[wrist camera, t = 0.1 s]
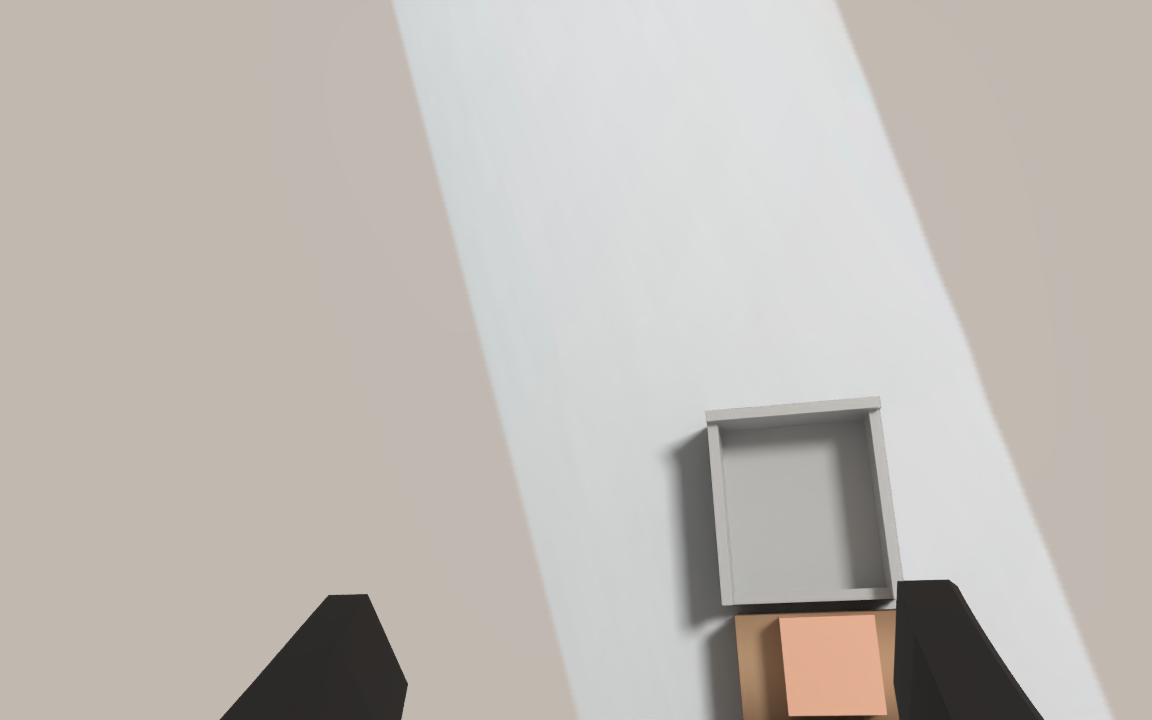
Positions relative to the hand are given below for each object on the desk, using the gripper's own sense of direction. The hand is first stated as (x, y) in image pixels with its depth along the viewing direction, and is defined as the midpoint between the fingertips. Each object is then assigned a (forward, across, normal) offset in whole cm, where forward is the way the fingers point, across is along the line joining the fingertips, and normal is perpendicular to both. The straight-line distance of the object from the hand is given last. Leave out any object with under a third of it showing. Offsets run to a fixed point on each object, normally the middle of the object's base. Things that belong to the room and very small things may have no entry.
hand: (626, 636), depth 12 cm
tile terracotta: (+17, -4, +24) cm, 30 cm away
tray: (+24, -4, +21) cm, 32 cm away
